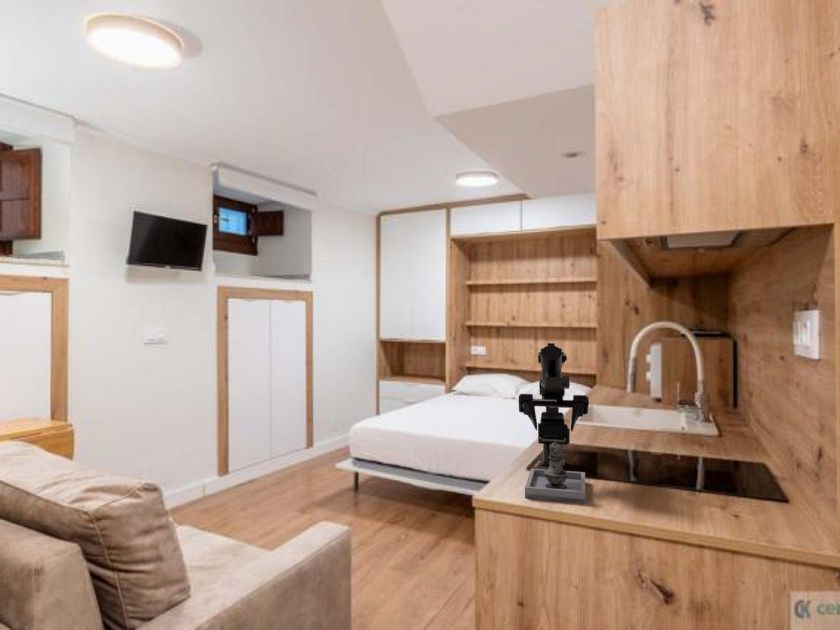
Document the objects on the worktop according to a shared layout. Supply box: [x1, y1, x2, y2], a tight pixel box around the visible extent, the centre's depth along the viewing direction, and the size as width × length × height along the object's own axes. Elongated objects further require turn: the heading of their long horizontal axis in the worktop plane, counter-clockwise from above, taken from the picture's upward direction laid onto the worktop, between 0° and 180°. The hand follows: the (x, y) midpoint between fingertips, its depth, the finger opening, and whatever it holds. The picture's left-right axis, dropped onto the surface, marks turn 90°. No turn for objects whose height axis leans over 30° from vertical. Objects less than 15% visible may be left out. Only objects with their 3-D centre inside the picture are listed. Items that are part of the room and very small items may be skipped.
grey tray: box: [524, 468, 586, 504], centre depth 129 cm, size 16×14×2 cm
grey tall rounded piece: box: [544, 439, 568, 490], centre depth 128 cm, size 6×6×12 cm
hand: (554, 430), depth 136 cm, fingers open, 9 cm apart
